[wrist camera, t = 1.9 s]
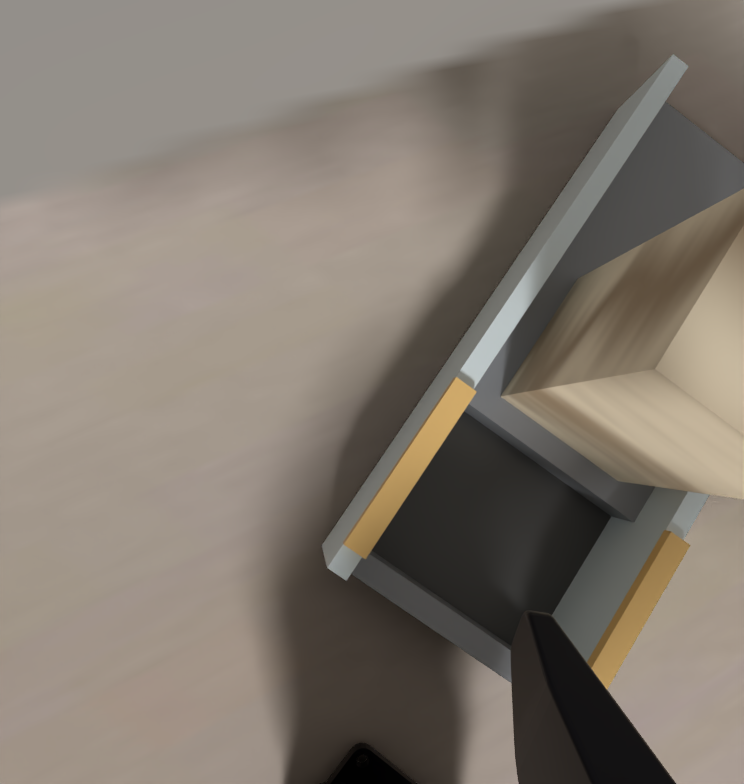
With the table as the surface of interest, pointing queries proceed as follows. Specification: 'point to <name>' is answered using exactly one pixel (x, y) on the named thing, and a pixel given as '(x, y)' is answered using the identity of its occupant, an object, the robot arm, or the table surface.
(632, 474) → the beech block
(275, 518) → the table surface
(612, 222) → the channel
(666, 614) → the table surface
